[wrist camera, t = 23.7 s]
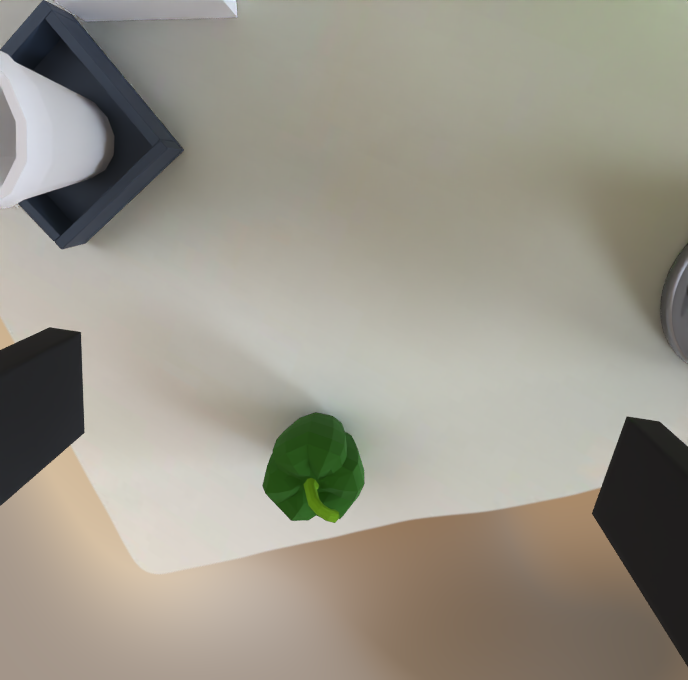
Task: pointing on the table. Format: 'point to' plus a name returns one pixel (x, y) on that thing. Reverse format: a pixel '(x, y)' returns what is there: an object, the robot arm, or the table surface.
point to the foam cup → (46, 135)
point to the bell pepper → (314, 469)
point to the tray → (115, 102)
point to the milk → (149, 9)
